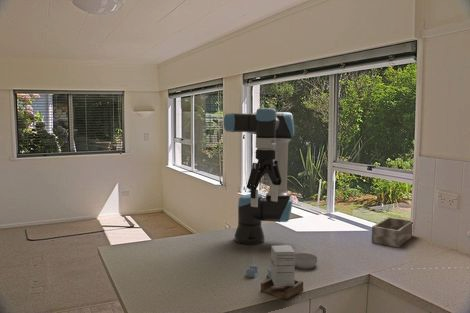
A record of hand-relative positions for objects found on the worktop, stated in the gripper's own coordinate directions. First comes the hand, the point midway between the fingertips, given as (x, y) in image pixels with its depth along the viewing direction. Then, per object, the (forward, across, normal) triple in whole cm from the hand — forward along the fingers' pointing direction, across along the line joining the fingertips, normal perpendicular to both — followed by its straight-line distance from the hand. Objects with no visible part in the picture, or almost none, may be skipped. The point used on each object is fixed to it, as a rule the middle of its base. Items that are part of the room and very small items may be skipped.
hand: (264, 203), depth 160 cm
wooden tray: (+29, -7, -13) cm, 32 cm away
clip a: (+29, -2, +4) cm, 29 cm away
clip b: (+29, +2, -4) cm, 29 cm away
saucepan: (+29, +20, -3) cm, 35 cm away
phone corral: (+29, +84, -23) cm, 92 cm away
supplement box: (+26, -7, -13) cm, 30 cm away
